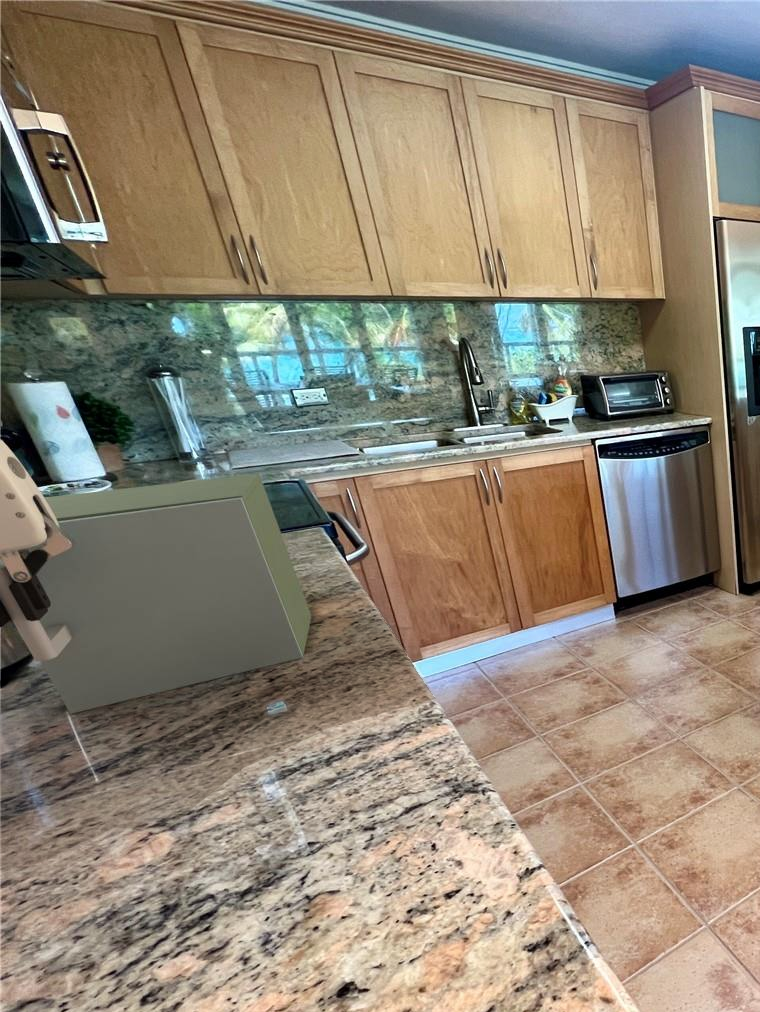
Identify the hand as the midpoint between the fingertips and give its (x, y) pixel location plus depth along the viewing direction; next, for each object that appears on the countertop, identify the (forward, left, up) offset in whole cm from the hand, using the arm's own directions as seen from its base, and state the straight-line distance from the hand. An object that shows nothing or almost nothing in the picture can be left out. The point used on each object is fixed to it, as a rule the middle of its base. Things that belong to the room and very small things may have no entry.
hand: (21, 618), depth 64 cm
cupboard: (-5, +17, -14) cm, 22 cm away
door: (+3, +8, -14) cm, 16 cm away
